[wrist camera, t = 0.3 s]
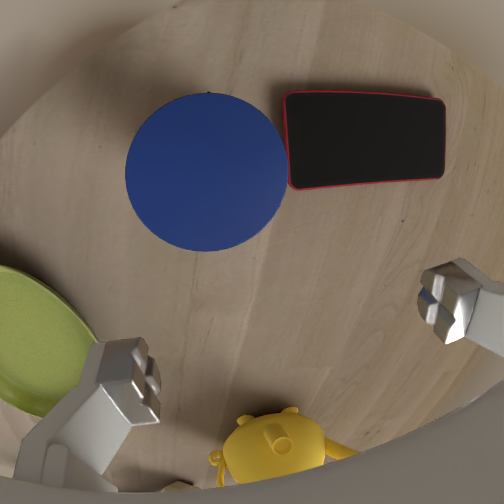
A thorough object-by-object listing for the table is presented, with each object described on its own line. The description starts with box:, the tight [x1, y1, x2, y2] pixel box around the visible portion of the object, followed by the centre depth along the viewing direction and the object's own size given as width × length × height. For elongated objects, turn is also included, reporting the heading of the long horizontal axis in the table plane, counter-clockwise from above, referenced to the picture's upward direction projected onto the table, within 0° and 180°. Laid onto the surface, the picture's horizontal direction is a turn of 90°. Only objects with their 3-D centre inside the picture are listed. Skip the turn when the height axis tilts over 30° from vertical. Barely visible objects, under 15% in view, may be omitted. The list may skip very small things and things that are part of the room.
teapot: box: [209, 407, 360, 487], centre depth 31 cm, size 14×14×11 cm
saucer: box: [0, 264, 99, 419], centre depth 24 cm, size 21×21×3 cm
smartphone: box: [282, 90, 446, 191], centre depth 22 cm, size 7×1×15 cm
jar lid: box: [125, 92, 288, 252], centre depth 13 cm, size 6×6×2 cm
